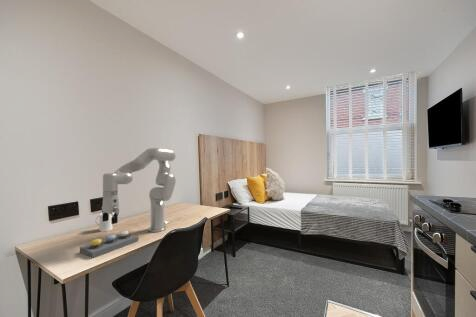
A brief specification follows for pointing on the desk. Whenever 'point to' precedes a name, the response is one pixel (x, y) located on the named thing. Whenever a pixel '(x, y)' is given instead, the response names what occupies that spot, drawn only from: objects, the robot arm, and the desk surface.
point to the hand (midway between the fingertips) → (109, 222)
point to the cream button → (124, 233)
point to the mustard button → (96, 242)
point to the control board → (108, 245)
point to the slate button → (110, 237)
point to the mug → (105, 223)
